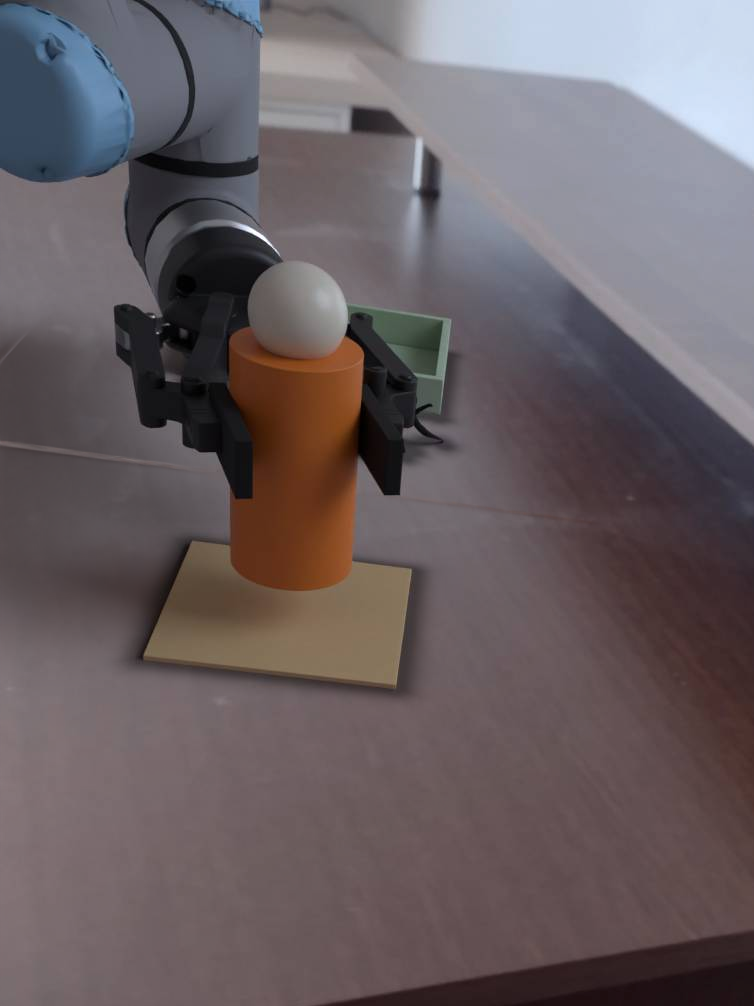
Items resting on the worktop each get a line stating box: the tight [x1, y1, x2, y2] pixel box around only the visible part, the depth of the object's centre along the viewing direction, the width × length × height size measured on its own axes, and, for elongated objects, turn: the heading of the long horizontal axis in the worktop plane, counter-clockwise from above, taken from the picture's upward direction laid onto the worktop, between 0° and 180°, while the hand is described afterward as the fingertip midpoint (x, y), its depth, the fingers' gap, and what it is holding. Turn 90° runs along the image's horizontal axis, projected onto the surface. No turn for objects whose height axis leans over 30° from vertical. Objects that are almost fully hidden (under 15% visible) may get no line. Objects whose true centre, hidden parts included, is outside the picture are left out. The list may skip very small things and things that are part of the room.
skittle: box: [228, 260, 364, 591], centre depth 63 cm, size 6×6×15 cm
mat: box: [142, 540, 413, 690], centre depth 69 cm, size 12×12×1 cm
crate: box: [228, 302, 452, 415], centre depth 95 cm, size 17×13×3 cm
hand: (320, 468), depth 59 cm, fingers closed on skittle, 6 cm apart
